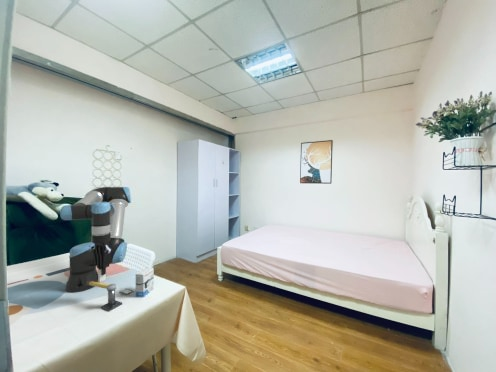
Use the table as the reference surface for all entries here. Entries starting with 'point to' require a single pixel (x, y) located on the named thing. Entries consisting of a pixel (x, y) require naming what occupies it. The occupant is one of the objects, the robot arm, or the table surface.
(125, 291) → the label tile
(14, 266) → the table surface
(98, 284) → the swing arm
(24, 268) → the table surface
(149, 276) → the ink box
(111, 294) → the grey square fixture
